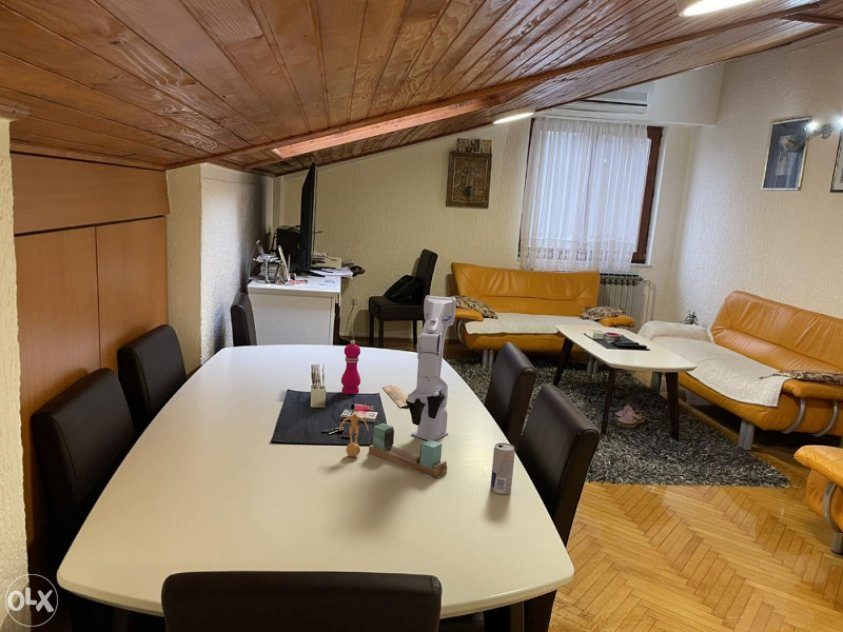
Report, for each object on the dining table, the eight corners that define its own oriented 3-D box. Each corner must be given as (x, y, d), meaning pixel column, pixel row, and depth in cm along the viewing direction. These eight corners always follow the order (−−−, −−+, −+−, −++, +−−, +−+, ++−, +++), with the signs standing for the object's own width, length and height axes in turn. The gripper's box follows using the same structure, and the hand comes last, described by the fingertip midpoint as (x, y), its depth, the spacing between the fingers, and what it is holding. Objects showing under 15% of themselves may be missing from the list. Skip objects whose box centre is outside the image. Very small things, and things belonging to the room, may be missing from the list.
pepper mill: (358, 396, 232) (361, 343, 228) (339, 394, 232) (341, 341, 228) (361, 390, 239) (363, 338, 235) (342, 388, 239) (344, 337, 235)
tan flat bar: (416, 409, 223) (416, 404, 223) (397, 410, 221) (397, 405, 221) (397, 389, 245) (397, 384, 245) (379, 389, 243) (380, 385, 243)
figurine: (337, 458, 176) (339, 417, 174) (338, 450, 182) (340, 410, 180) (367, 459, 177) (369, 418, 175) (367, 450, 183) (369, 411, 181)
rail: (380, 447, 186) (381, 421, 184) (446, 472, 172) (448, 445, 170) (368, 452, 182) (370, 426, 180) (436, 478, 168) (438, 450, 166)
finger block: (426, 459, 175) (428, 438, 174) (440, 464, 172) (441, 443, 171) (418, 463, 171) (419, 442, 170) (431, 468, 169) (433, 447, 168)
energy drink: (497, 483, 167) (501, 440, 165) (514, 490, 164) (519, 447, 162) (486, 490, 163) (490, 446, 161) (503, 497, 160) (508, 452, 158)
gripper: (423, 383, 170) (419, 431, 172) (453, 373, 181) (450, 418, 184) (402, 377, 174) (399, 424, 176) (433, 368, 185) (430, 412, 188)
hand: (424, 421), depth 180 cm, fingers open, 7 cm apart
